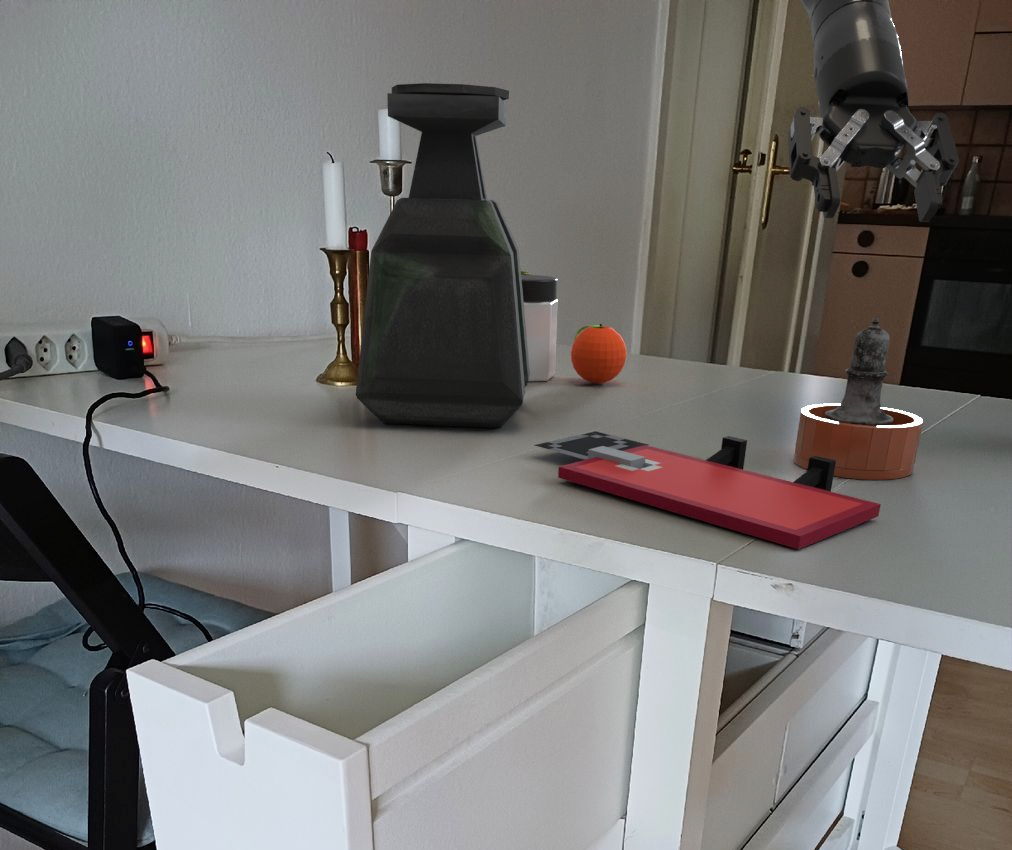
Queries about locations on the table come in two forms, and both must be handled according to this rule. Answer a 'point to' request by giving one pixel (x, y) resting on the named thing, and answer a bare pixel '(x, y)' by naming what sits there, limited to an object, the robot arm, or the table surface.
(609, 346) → the clementine
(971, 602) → the table surface
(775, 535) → the red board with handle
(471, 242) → the bottle
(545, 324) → the jar
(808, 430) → the round brown bowl
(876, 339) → the salt shaker
